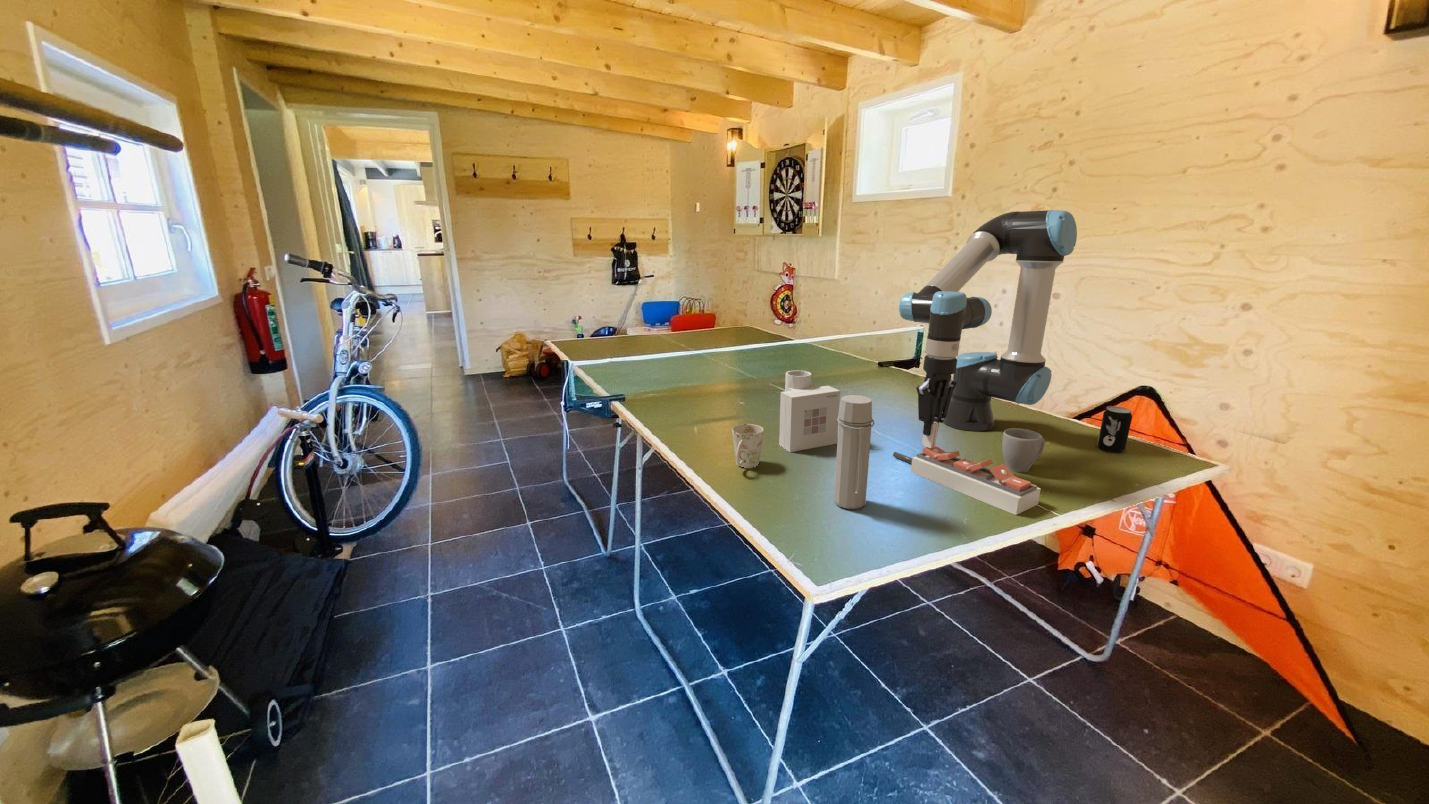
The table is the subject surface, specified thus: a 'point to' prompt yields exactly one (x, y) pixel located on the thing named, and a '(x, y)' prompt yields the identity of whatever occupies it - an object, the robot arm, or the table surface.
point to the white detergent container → (807, 413)
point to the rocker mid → (971, 465)
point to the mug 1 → (747, 444)
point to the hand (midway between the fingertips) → (928, 445)
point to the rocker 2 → (1009, 478)
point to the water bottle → (853, 451)
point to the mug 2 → (1021, 448)
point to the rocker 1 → (939, 453)
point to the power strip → (973, 483)
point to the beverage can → (1114, 429)
